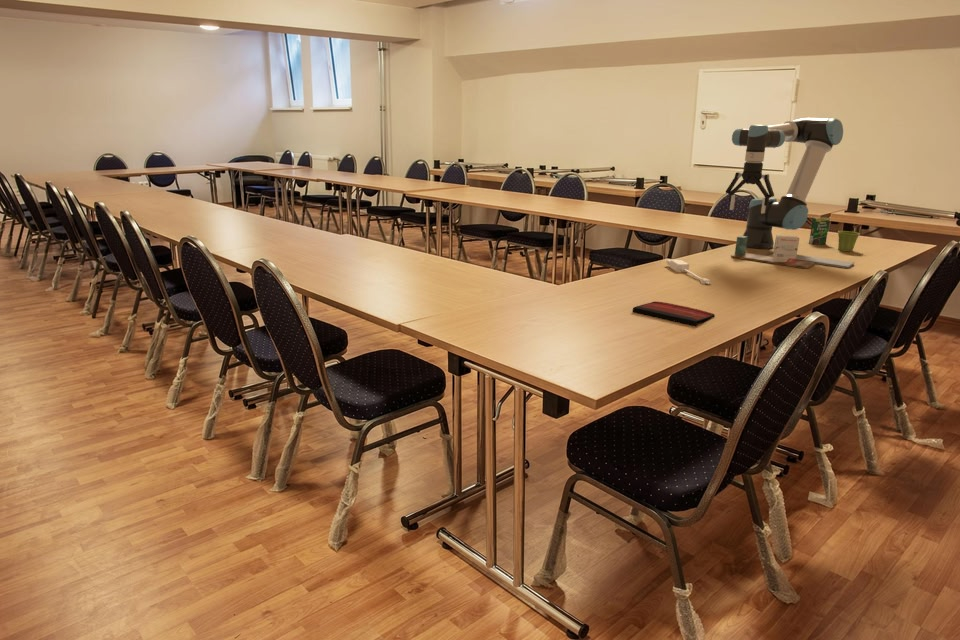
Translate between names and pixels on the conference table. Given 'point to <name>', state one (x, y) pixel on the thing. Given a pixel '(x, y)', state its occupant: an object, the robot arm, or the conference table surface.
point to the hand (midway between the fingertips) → (746, 211)
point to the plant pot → (847, 240)
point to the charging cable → (684, 269)
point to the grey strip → (823, 261)
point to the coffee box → (819, 230)
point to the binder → (673, 313)
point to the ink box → (785, 248)
